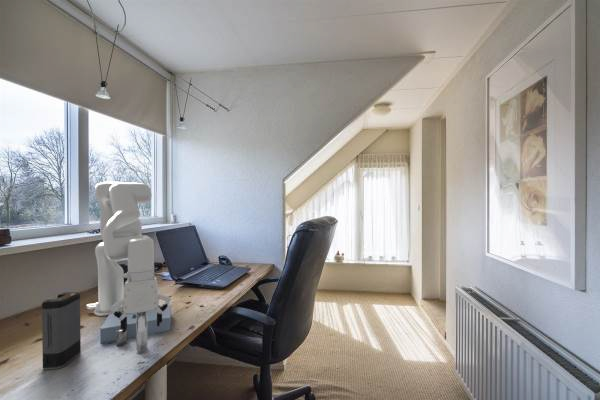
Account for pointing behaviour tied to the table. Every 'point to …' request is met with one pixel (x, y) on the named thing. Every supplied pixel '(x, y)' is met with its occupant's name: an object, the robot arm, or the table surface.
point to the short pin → (121, 338)
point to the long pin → (141, 332)
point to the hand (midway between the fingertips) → (142, 327)
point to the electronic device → (61, 330)
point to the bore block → (134, 325)
